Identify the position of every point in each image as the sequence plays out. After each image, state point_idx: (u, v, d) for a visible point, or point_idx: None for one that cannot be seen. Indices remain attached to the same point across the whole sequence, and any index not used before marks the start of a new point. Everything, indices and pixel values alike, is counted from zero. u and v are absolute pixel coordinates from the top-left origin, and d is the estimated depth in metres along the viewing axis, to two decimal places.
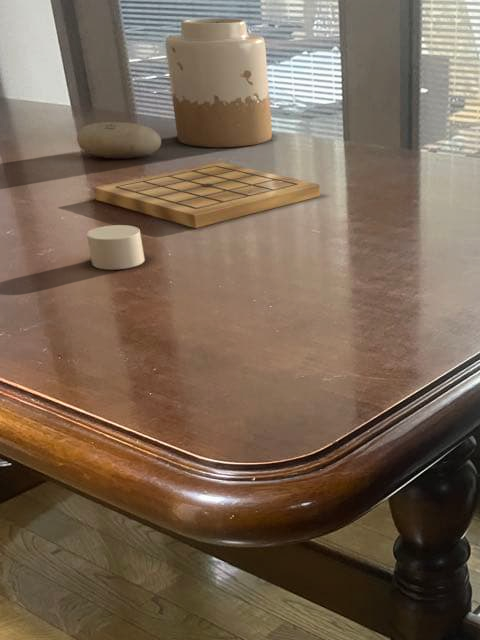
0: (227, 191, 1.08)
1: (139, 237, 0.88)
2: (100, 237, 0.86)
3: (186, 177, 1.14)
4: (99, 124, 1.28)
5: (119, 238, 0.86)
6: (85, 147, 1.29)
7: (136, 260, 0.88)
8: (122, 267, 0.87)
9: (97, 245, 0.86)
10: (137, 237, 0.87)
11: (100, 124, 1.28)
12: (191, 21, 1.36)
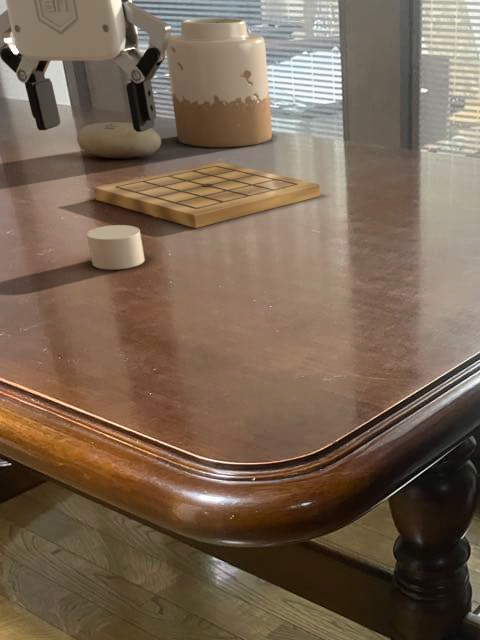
0: (227, 191, 1.08)
1: (139, 237, 0.88)
2: (100, 237, 0.86)
3: (186, 177, 1.14)
4: (99, 124, 1.28)
5: (119, 238, 0.86)
6: (85, 147, 1.29)
7: (136, 260, 0.88)
8: (122, 267, 0.87)
9: (97, 245, 0.86)
10: (137, 237, 0.87)
11: (100, 124, 1.28)
12: (191, 21, 1.36)
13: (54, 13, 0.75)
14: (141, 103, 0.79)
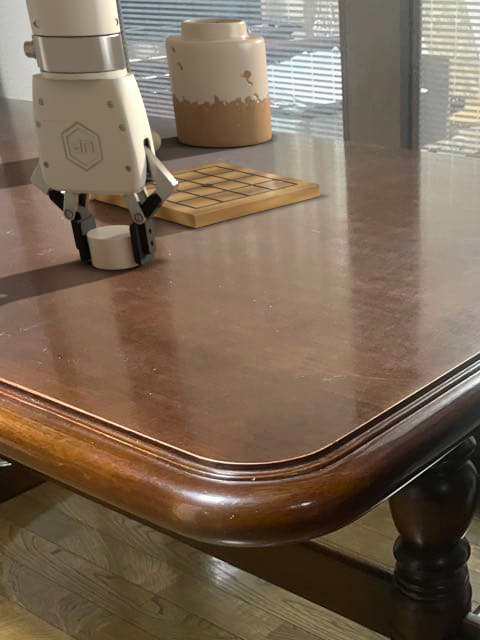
0: (227, 191, 1.08)
1: None
2: (100, 237, 0.86)
3: (186, 177, 1.14)
4: None
5: (119, 238, 0.86)
6: None
7: None
8: (122, 267, 0.87)
9: (97, 245, 0.86)
10: None
11: None
12: (191, 21, 1.36)
13: (81, 153, 0.81)
14: (143, 240, 0.87)
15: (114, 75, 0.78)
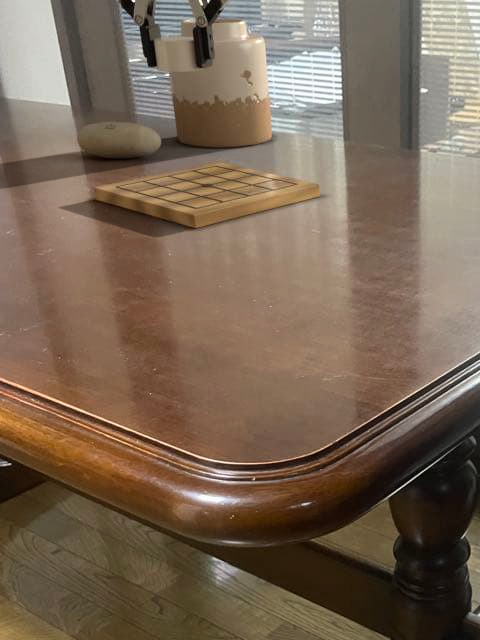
0: (227, 191, 1.08)
1: None
2: (166, 40, 0.96)
3: (186, 177, 1.14)
4: (99, 124, 1.28)
5: (183, 40, 0.96)
6: (85, 147, 1.29)
7: None
8: (185, 70, 0.97)
9: (164, 48, 0.96)
10: None
11: (100, 124, 1.28)
12: (191, 21, 1.36)
13: None
14: (204, 44, 0.97)
15: None
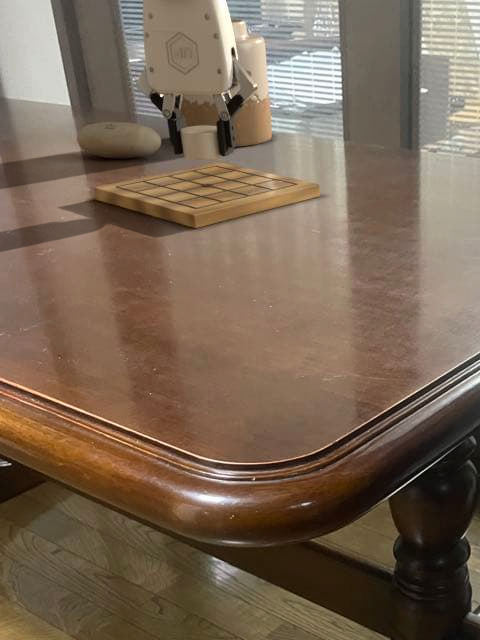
0: (227, 191, 1.08)
1: None
2: (192, 132, 1.05)
3: (186, 177, 1.14)
4: (99, 124, 1.28)
5: (208, 132, 1.05)
6: (85, 147, 1.29)
7: None
8: (209, 158, 1.06)
9: (190, 139, 1.05)
10: None
11: (100, 124, 1.28)
12: None
13: (181, 59, 1.00)
14: (227, 135, 1.06)
15: None
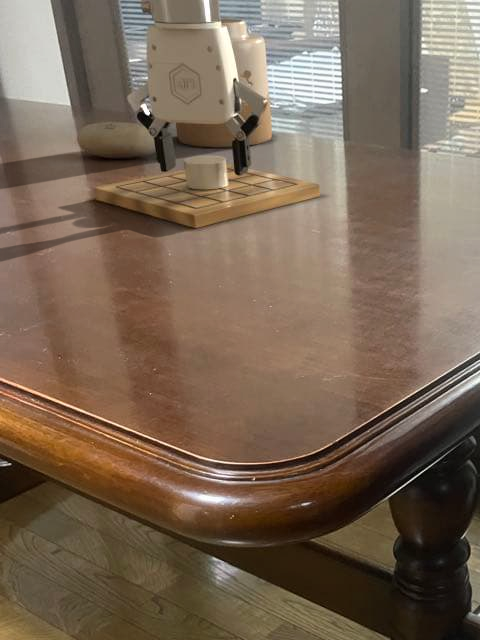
0: (227, 191, 1.08)
1: (225, 164, 1.09)
2: (195, 162, 1.07)
3: None
4: (99, 124, 1.28)
5: (211, 163, 1.07)
6: (85, 147, 1.29)
7: (223, 182, 1.09)
8: (212, 187, 1.08)
9: (193, 169, 1.07)
10: (224, 164, 1.08)
11: (100, 124, 1.28)
12: None
13: (183, 89, 1.02)
14: (242, 154, 1.07)
15: (213, 26, 0.99)
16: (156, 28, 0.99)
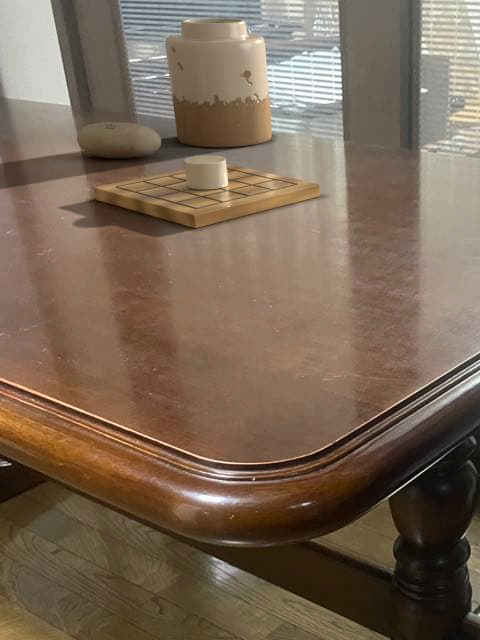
0: (227, 191, 1.08)
1: (225, 164, 1.09)
2: (195, 162, 1.07)
3: None
4: (99, 124, 1.28)
5: (211, 163, 1.07)
6: (85, 147, 1.29)
7: (223, 182, 1.09)
8: (212, 187, 1.08)
9: (193, 169, 1.07)
10: (224, 164, 1.08)
11: (100, 124, 1.28)
12: (191, 21, 1.36)
13: None
14: None
15: None
16: None
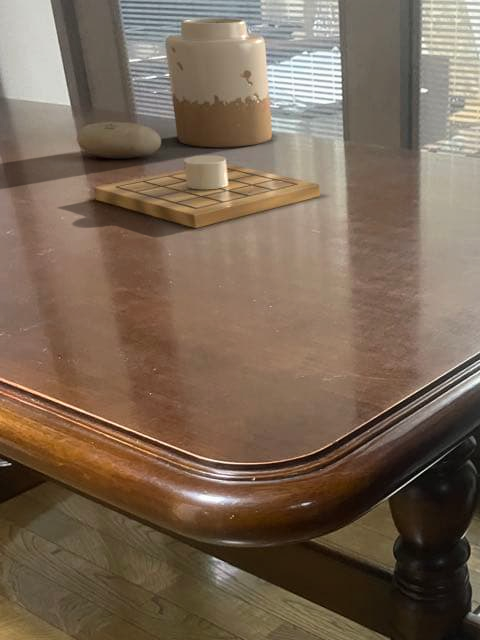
0: (227, 191, 1.08)
1: (225, 164, 1.09)
2: (195, 162, 1.07)
3: None
4: (99, 124, 1.28)
5: (211, 163, 1.07)
6: (85, 147, 1.29)
7: (223, 182, 1.09)
8: (212, 187, 1.08)
9: (193, 169, 1.07)
10: (224, 164, 1.08)
11: (100, 124, 1.28)
12: (191, 21, 1.36)
13: None
14: None
15: None
16: None
